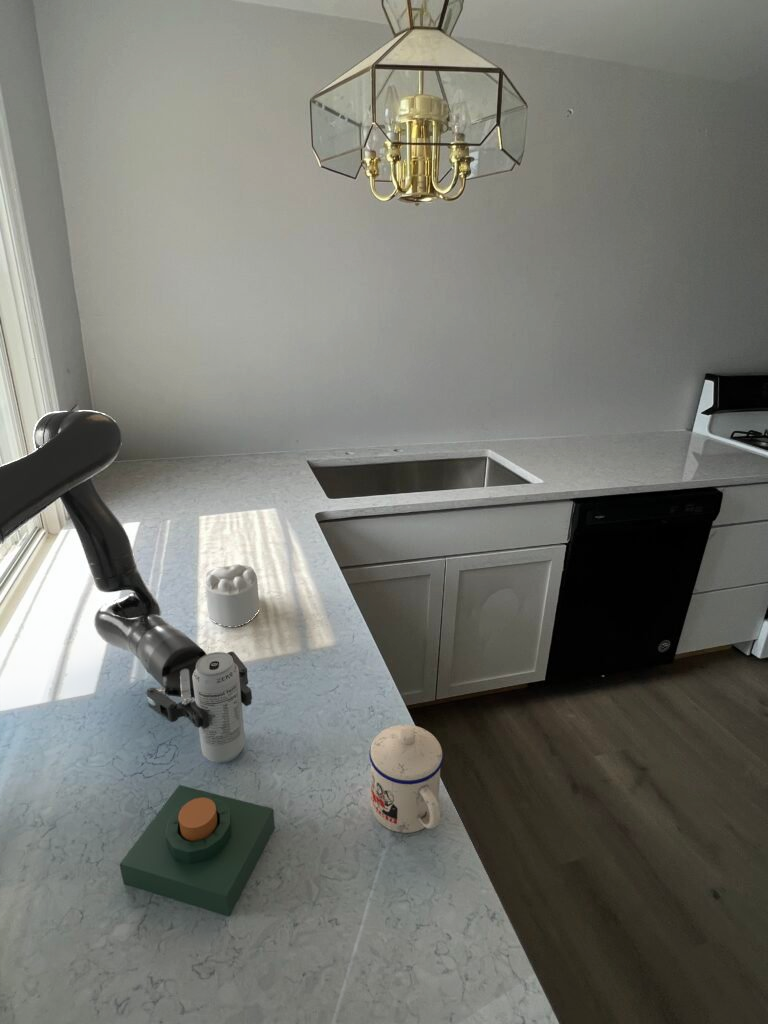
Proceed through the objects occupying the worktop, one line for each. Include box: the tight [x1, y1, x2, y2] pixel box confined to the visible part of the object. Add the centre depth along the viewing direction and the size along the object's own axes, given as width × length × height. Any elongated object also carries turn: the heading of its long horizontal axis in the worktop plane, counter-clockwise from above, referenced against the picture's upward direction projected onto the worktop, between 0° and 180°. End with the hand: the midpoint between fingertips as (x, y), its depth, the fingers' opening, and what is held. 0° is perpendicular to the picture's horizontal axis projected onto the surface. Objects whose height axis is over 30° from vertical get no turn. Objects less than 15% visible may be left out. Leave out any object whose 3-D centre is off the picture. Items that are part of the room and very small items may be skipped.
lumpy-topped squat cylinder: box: [203, 564, 260, 628], centre depth 114 cm, size 10×13×9 cm
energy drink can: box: [192, 651, 246, 764], centre depth 77 cm, size 6×6×15 cm
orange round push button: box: [179, 798, 217, 841], centre depth 63 cm, size 4×4×2 cm
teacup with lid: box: [368, 724, 444, 834], centre depth 68 cm, size 12×9×12 cm
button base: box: [119, 784, 276, 918], centre depth 64 cm, size 13×11×5 cm
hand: (228, 710), depth 75 cm, fingers closed on energy drink can, 6 cm apart
